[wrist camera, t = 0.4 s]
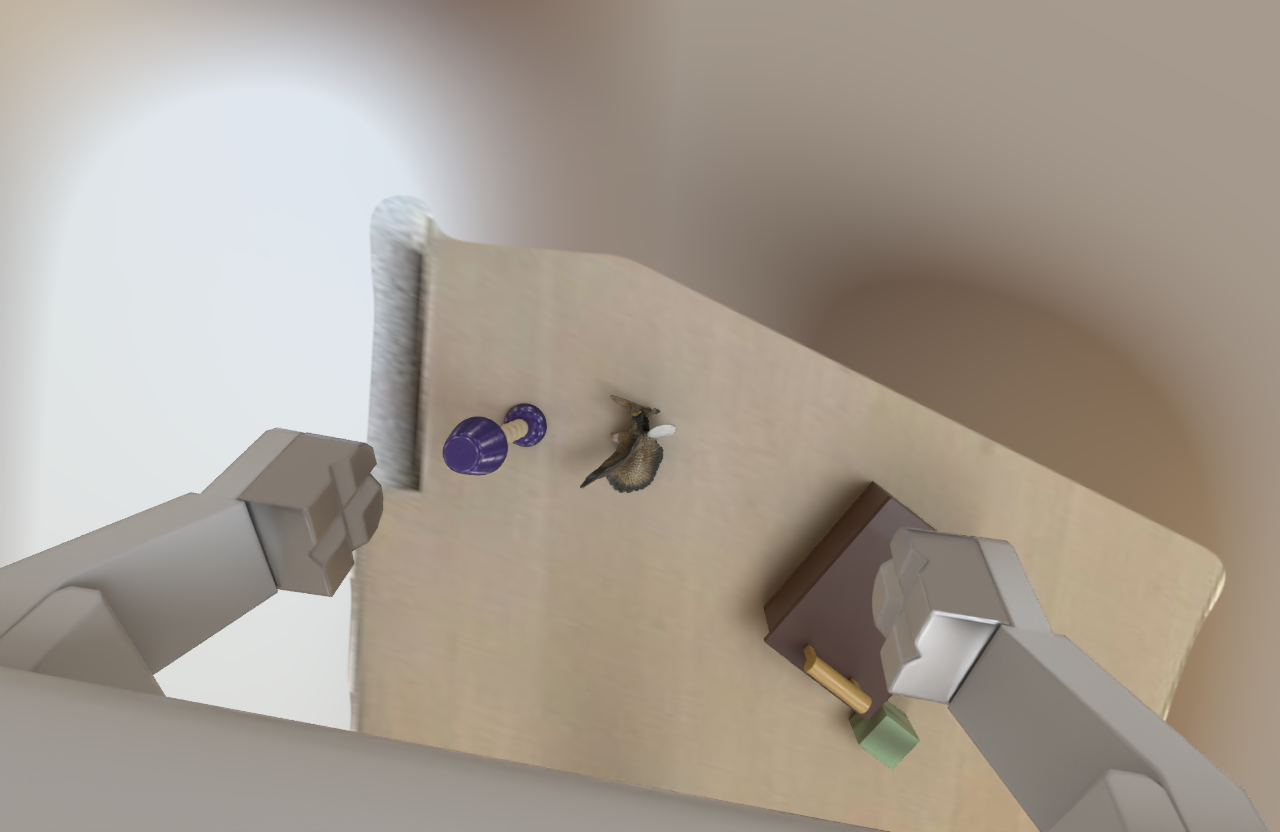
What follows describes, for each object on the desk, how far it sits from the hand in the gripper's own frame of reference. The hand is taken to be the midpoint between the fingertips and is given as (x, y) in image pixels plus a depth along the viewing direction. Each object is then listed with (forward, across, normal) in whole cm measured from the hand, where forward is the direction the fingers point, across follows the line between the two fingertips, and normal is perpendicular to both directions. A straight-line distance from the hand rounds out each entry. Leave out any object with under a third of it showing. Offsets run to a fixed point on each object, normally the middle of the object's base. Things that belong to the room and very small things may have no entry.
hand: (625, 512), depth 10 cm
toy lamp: (+43, -15, -31) cm, 55 cm away
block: (+31, +24, -53) cm, 66 cm away
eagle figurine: (+42, -4, -32) cm, 53 cm away
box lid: (+33, +20, -39) cm, 55 cm away
